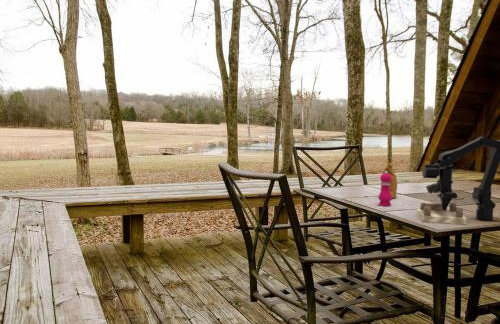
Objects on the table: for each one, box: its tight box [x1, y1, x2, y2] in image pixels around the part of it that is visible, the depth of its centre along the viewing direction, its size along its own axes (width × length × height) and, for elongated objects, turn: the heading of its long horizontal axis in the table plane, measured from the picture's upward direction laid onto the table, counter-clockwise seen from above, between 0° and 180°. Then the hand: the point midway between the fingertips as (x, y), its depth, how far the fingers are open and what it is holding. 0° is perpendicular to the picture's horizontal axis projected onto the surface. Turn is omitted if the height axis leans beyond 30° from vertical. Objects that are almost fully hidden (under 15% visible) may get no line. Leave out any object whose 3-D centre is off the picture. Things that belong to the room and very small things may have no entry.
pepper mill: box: [378, 171, 393, 207], centre depth 239 cm, size 7×7×20 cm
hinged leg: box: [419, 202, 448, 211], centre depth 212 cm, size 12×3×3 cm, turn 76°
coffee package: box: [380, 162, 398, 199], centre depth 266 cm, size 10×12×22 cm
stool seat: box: [416, 202, 467, 225], centre depth 205 cm, size 19×19×7 cm
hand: (444, 209), depth 206 cm, fingers closed
